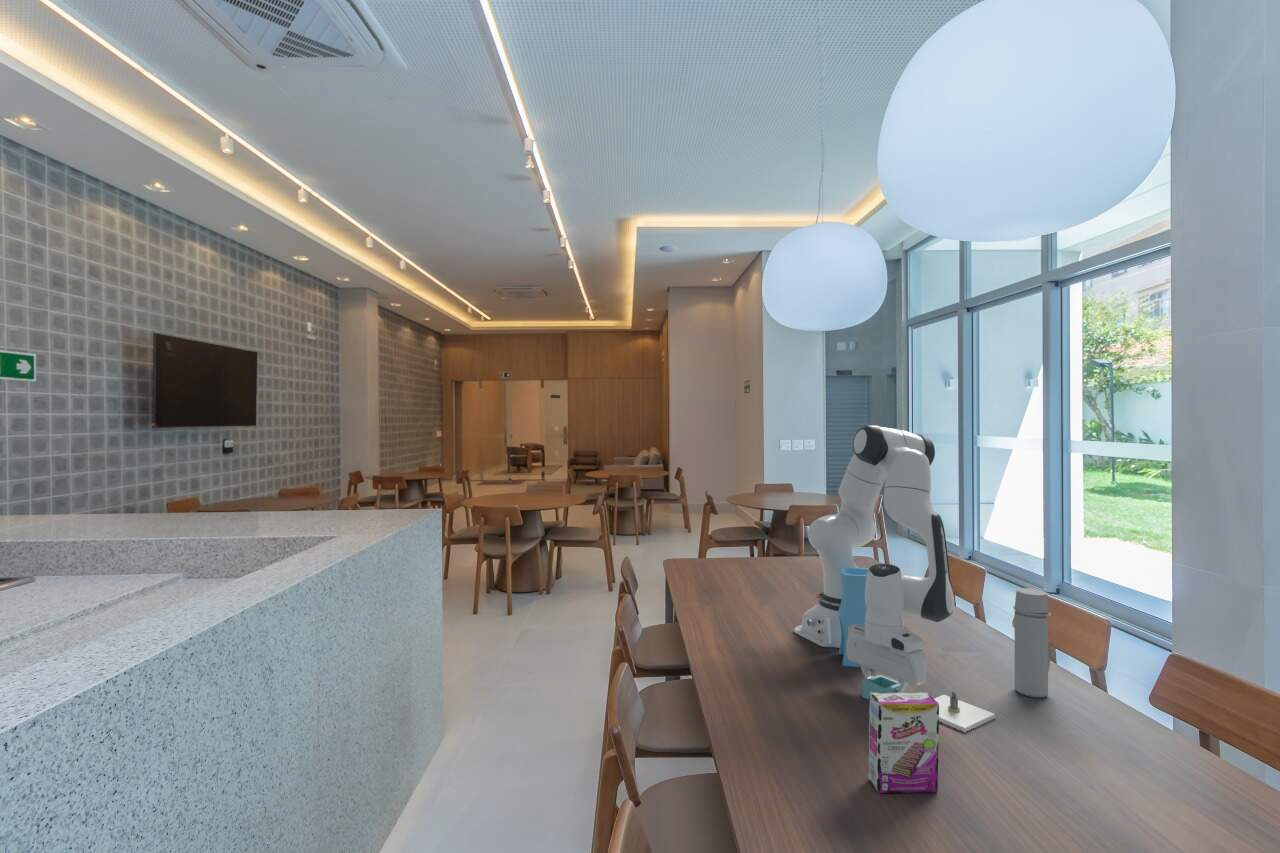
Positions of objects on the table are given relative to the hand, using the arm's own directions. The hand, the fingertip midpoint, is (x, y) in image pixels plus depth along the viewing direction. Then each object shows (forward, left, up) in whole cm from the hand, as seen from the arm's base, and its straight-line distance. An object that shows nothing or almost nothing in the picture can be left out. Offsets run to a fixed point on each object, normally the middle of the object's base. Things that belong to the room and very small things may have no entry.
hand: (884, 690), depth 150 cm
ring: (0, 0, -2) cm, 2 cm away
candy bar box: (+25, -29, -2) cm, 38 cm away
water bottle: (+18, +34, -2) cm, 38 cm away
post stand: (+14, +6, -2) cm, 15 cm away
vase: (-19, +15, -2) cm, 24 cm away
